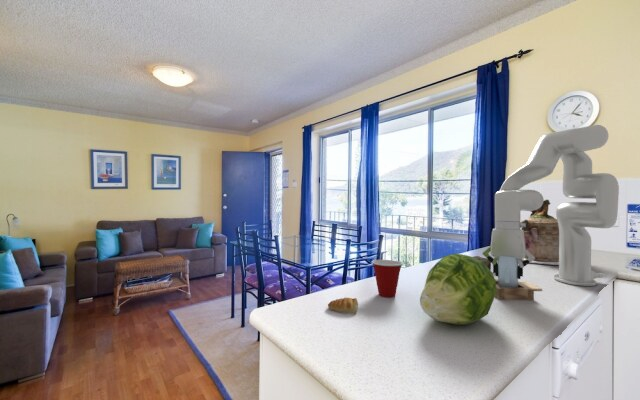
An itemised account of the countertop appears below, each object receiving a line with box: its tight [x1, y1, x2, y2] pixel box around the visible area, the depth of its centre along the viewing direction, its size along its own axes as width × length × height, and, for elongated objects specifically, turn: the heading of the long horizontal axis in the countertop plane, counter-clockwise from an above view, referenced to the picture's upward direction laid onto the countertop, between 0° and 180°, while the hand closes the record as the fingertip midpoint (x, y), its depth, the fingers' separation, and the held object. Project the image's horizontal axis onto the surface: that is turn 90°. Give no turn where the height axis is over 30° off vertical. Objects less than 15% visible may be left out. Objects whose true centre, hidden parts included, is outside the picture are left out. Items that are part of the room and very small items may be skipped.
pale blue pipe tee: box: [497, 256, 519, 288], centre depth 100 cm, size 6×10×13 cm, turn 145°
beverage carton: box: [473, 255, 492, 272], centre depth 127 cm, size 8×19×7 cm, turn 124°
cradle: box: [494, 278, 535, 301], centre depth 101 cm, size 11×11×4 cm
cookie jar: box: [520, 199, 559, 266], centre depth 149 cm, size 25×25×32 cm
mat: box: [519, 281, 543, 291], centre depth 108 cm, size 8×8×1 cm
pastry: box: [327, 297, 359, 315], centre depth 89 cm, size 9×7×4 cm
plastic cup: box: [371, 259, 403, 298], centre depth 101 cm, size 11×11×12 cm
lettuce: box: [419, 253, 497, 325], centre depth 81 cm, size 19×23×18 cm
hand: (507, 276), depth 101 cm, fingers closed on pale blue pipe tee, 6 cm apart
